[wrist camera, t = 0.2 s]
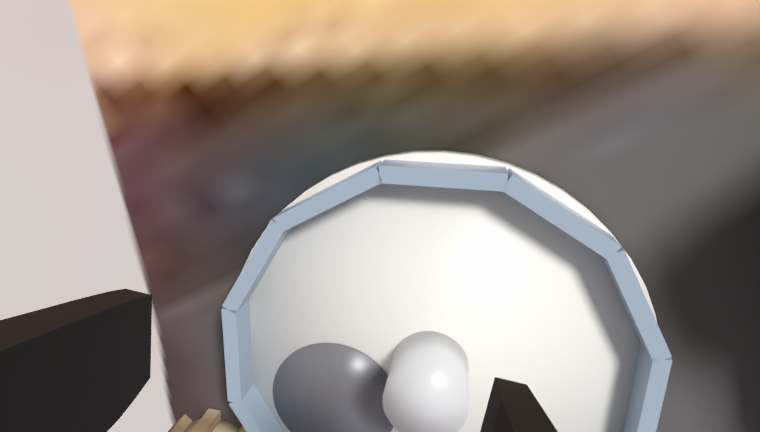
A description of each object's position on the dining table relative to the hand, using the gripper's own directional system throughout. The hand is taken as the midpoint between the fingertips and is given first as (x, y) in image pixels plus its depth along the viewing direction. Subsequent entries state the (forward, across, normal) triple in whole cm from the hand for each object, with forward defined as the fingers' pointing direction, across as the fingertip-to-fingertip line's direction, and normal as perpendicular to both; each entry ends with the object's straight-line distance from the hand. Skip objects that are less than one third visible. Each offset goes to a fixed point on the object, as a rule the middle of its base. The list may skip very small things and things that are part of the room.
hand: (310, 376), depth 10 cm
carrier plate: (+10, -3, +5) cm, 11 cm away
